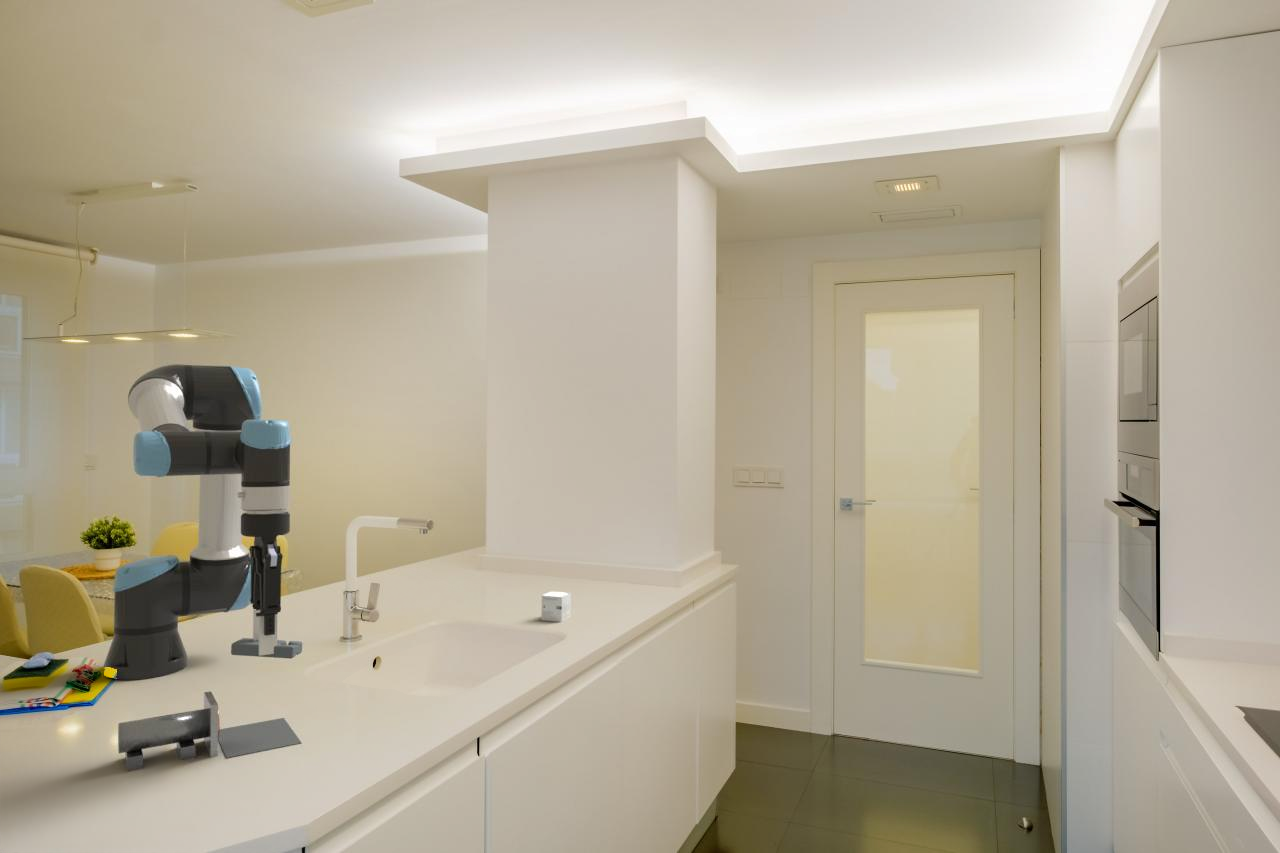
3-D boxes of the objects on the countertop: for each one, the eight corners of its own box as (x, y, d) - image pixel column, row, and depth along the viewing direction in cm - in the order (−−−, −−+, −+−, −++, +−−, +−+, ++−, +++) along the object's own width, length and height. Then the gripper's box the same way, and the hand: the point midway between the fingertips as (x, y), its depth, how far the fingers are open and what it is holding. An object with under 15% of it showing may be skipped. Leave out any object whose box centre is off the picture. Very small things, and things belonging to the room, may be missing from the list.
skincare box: (540, 622, 221) (540, 595, 221) (550, 617, 226) (550, 590, 226) (561, 624, 219) (561, 596, 219) (571, 619, 224) (571, 592, 224)
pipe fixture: (117, 757, 129) (117, 705, 129) (213, 739, 137) (213, 690, 137) (119, 775, 123) (119, 720, 123) (220, 755, 130) (220, 704, 130)
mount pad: (214, 731, 141) (214, 730, 141) (283, 718, 147) (283, 717, 147) (226, 758, 129) (226, 757, 129) (301, 743, 135) (301, 742, 135)
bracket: (242, 649, 142) (242, 637, 142) (302, 652, 142) (303, 641, 142) (230, 655, 138) (230, 643, 138) (292, 659, 138) (292, 647, 138)
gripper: (232, 508, 145) (231, 643, 144) (251, 516, 131) (250, 666, 131) (278, 506, 149) (277, 637, 149) (301, 514, 135) (300, 658, 135)
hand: (265, 650), depth 140 cm, fingers closed on bracket, 4 cm apart
